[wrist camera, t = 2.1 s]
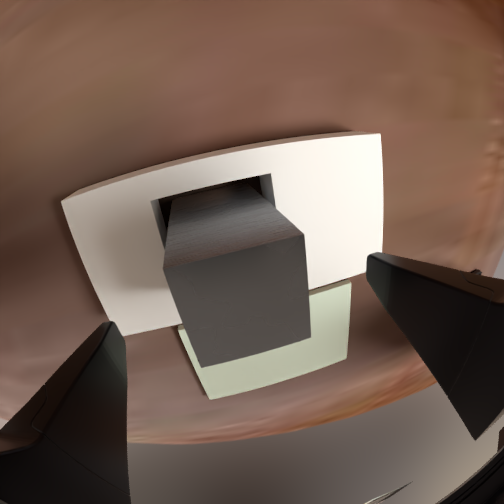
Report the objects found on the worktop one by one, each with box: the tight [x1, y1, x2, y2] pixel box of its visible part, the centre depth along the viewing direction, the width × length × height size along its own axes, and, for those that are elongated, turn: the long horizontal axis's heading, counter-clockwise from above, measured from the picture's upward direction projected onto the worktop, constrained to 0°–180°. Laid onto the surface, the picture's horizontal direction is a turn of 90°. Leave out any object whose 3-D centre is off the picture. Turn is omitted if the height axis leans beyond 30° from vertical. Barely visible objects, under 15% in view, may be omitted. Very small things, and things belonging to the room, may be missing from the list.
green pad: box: [178, 279, 351, 400], centre depth 20 cm, size 12×8×1 cm, turn 99°
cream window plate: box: [61, 131, 383, 336], centre depth 15 cm, size 16×8×2 cm, turn 99°
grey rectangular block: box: [163, 182, 311, 368], centre depth 12 cm, size 4×4×8 cm
